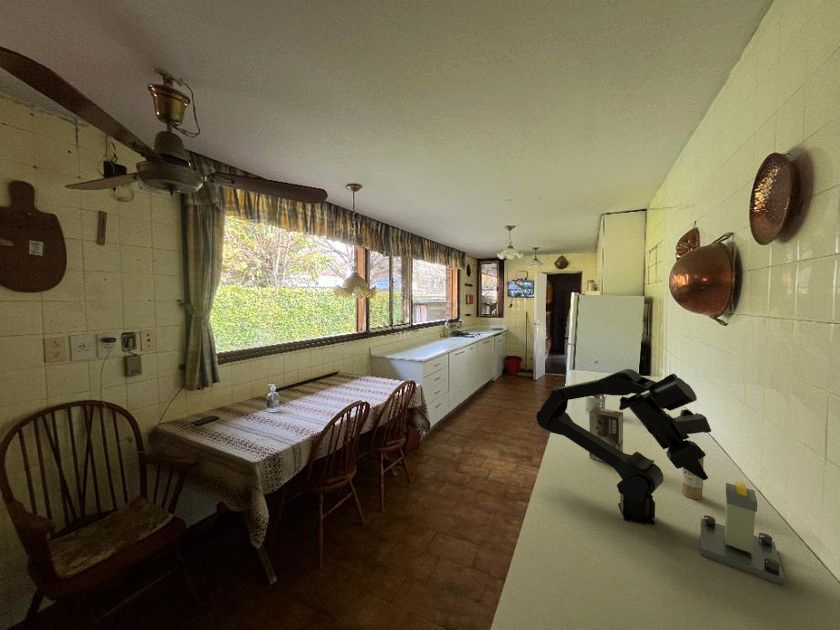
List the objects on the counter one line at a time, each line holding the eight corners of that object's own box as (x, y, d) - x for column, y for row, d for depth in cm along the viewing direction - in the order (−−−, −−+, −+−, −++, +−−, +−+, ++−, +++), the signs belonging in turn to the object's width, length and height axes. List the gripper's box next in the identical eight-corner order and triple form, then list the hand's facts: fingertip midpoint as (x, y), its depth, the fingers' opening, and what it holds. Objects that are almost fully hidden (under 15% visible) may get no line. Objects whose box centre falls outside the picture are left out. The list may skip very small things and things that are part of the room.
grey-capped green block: (724, 543, 69) (727, 487, 69) (723, 530, 74) (726, 476, 73) (754, 554, 67) (757, 495, 66) (751, 539, 71) (754, 484, 70)
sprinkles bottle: (677, 491, 92) (678, 444, 91) (692, 489, 92) (693, 443, 92) (692, 501, 88) (693, 451, 87) (707, 499, 88) (709, 450, 87)
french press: (578, 411, 156) (579, 359, 154) (595, 408, 161) (596, 357, 159) (597, 418, 147) (598, 363, 146) (614, 414, 152) (615, 360, 150)
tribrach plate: (700, 554, 70) (700, 540, 69) (700, 524, 79) (701, 512, 78) (784, 586, 62) (785, 571, 62) (774, 548, 71) (774, 535, 71)
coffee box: (623, 459, 110) (624, 412, 109) (619, 466, 105) (619, 417, 105) (593, 451, 116) (594, 406, 116) (588, 457, 112) (588, 411, 111)
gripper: (698, 407, 68) (763, 478, 63) (676, 393, 85) (726, 449, 80) (648, 434, 71) (705, 503, 66) (635, 415, 88) (681, 470, 83)
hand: (705, 478), depth 74 cm, fingers closed
